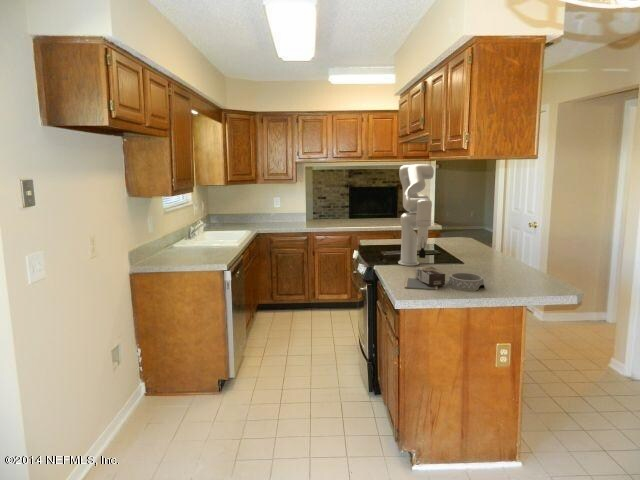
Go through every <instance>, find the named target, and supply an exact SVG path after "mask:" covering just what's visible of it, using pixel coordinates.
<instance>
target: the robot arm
mask: <svg viewBox="0 0 640 480" xmlns="http://www.w3.org/2000/svg"><path fill="white" fill-rule="evenodd" d="M434 171H435V169H434V167H433V165H431V164H429V163H428V164H427V163H425V164H424V163H422V164H421V163H419V164H418V163H416V164H415V163H414V164H404V165H401V166H399V171H398V173H399V179H400V183H401V186H402V206H403V209H404V210H405V211H406V212H403V213H402V214H401V215H400V227H401V230H400V231H401V238H400V239H401V242H400V244H401V245H400V246H401V247H400V259H399V260H398V261H397V263H398V264H399V265H402V266H405V267H406V266H408V267H413V266H418V265H419V264H420V262H419V261H418V258H417V257H419V259H425V258H426V253H427V252H426V246H427V245H428V240H429V227H432V210H433V209H432V207H433V202H432V200H431V199H430V197H429V196H428V195H427V194H418V193H419V192H422V191H423V190H425V188H426V181H425V180H432V179H433V178H434V174H435V173H434ZM414 229H417V232H416V231H415V230H414ZM418 246H419V249H418ZM418 251H419V252H418ZM417 252H418V253H417Z"/></svg>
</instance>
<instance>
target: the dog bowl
mask: <svg viewBox="0 0 640 480" xmlns="http://www.w3.org/2000/svg"><path fill="white" fill-rule="evenodd" d="M483 285H484V286H483ZM447 286H448V287H449V288H451V289H454V290H457V291H463V290H465V292H476V291H475V290H478V291H479V289H480V287H481V286H483V287H486V286H485V281H484V277H483V276H482V275H479V274H476V273H473V272H453V273H451V274H450V275H449V277H448V281H447Z"/></svg>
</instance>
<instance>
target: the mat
mask: <svg viewBox="0 0 640 480" xmlns="http://www.w3.org/2000/svg"><path fill="white" fill-rule="evenodd" d="M438 287H439V286H433V287H429V286H427V285H425V284H424V283H422V282H421V281H419V280H417V279H416V277H414V278H412V277H406V278H405V283H404V289H412V290H428V291H439V290H438Z"/></svg>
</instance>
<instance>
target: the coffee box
mask: <svg viewBox="0 0 640 480" xmlns="http://www.w3.org/2000/svg"><path fill="white" fill-rule="evenodd" d="M415 278H416V279H417V280H419V281H421V282H422V283H424V284H425V285H427V286H429V287H433V286H437V287H442V286H443V287H444V286H445V285H446V273H444V272H443V271H440V270H439V269H437V268H435V267H433V266H420V267H415Z"/></svg>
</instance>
